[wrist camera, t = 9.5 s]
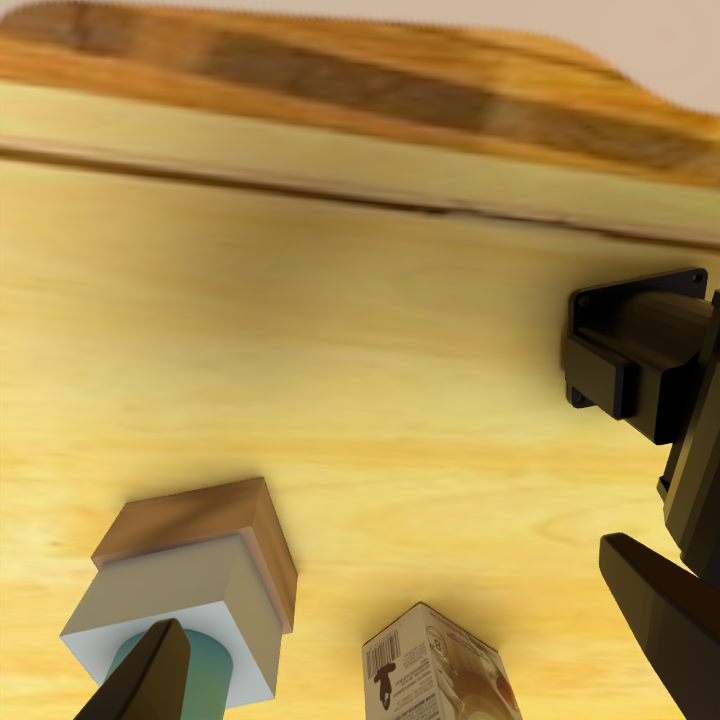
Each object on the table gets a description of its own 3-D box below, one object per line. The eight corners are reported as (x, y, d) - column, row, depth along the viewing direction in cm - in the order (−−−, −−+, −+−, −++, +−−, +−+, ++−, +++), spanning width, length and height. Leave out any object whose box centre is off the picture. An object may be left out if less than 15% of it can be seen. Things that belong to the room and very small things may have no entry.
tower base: (264, 473, 23) (251, 526, 20) (298, 570, 26) (292, 632, 23) (128, 500, 23) (90, 557, 20) (178, 594, 26) (153, 659, 23)
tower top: (240, 533, 20) (223, 600, 17) (282, 625, 22) (274, 698, 19) (103, 564, 20) (58, 636, 17) (160, 651, 23) (132, 728, 19)
